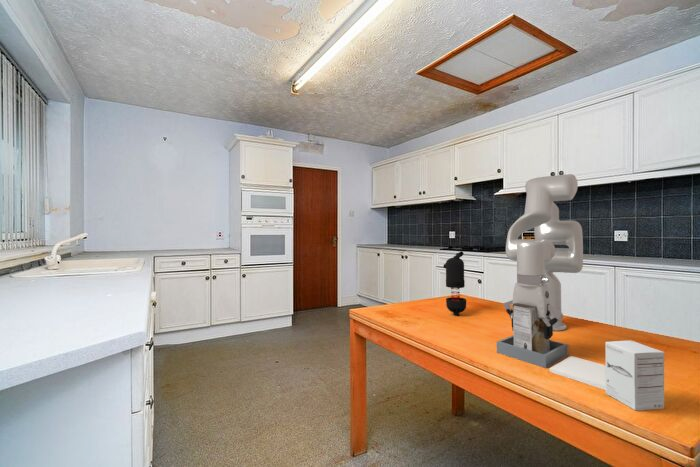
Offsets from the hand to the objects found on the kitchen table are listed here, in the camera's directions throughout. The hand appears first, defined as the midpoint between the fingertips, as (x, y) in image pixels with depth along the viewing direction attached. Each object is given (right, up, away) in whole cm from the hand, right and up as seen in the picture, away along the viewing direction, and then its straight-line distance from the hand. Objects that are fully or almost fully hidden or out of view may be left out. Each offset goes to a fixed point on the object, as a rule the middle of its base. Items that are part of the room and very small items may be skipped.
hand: (531, 334), depth 99 cm
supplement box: (+7, -7, -28) cm, 30 cm away
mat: (+8, -6, -14) cm, 17 cm away
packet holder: (0, -6, 0) cm, 6 cm away
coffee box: (0, -7, 0) cm, 7 cm away
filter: (-8, -6, +48) cm, 49 cm away
